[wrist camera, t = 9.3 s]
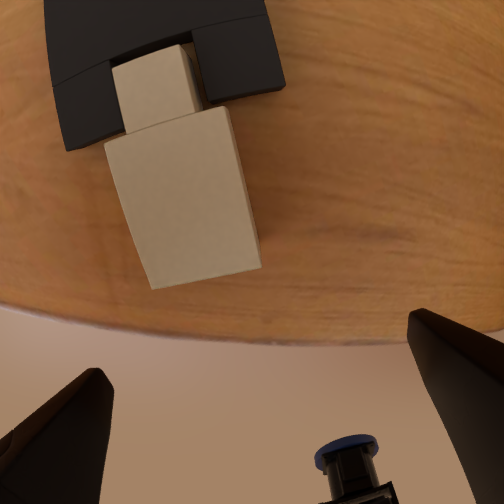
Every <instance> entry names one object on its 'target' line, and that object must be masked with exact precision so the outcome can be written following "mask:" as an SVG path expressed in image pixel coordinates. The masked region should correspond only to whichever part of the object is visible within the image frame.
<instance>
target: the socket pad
mask: <svg viewBox="0 0 504 504" xmlns="http://www.w3.org/2000/svg"><path fill="white" fill-rule="evenodd" d="M44 17H45V32H46V43H47V52H48V61H49V68H50V75H51V81H52V87H54V88H53V93H54V98H55V103H56V108H57V113H58V118H59V123H60V127H61V132H62V136H63V140H64V144H65V148H66V151H72V150H77V149H81V148H84V147H87V146H89V145H91V144H94V143H96V142H99V141H101V140H104V139H106V138H109V137H111V136H114V135H117V134H119V133H122V132H125V131H126V130H125V126H124V122H123V118H122V114H121V109H120V105H119V101H118V96H117V92H116V87H115V82H114V78H113V73H112V68H114V67H117V66H119V65H121V64H124V63H126V62H129V61H131V60H134V59H137V58H139V57H142V56H145V55H147V54H150V53H153V52H156V51H159V50H162V49H165V48H168V47H171V46H175V45H181V44H184V43H188V42H191V41H194V46H195V50H196V54H197V58H198V63H199V67H200V71H201V75H202V80H203V84H204V88H205V92H206V96H207V101H208V102H210V103H211V104H217V103H221V102H225V101H229V100H234V99H238V98H243V97H247V96H252V95H257V94H263V93H268V92H274V91H279V90H282V89H283V88H284V87H285V86H286V83H285V79H284V75H283V71H282V67H281V62H280V58H279V54H278V51H277V47H276V43H275V39H274V35H273V32H272V28H271V24H270V21H269V17H268V15H267V10H266V7H265V3H264V0H44Z"/></svg>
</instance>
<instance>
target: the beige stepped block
mask: <svg viewBox="0 0 504 504" xmlns="http://www.w3.org/2000/svg"><path fill="white" fill-rule="evenodd" d="M112 73H113V78H114V82H115V87H116V92H117V96H118V101H119V105H120V109H121V114H122V118H123V122H124V126H125V130H126V133H127V135H125V136H122V137H119V138H116V139H114V140H111V141H109V142H106V143H104V148H105V152H106V155H107V159H108V163H109V166H110V170H111V173H112V177H113V180H114V183H115V187H116V190H117V193H118V196H119V199H120V203H121V206H122V209H123V212H124V215H125V218H126V221H127V224H128V227H129V230H130V232H131V235H132V238H133V241H134V244H135V246H136V249H137V252H138V255H139V257H140V260H141V263H142V265H143V268H144V270H145V273H146V275H147V278H148V280H149V283H150V285H151V288H152V289H158V288H164V287H169V286H174V285H179V284H184V283H189V282H194V281H199V280H204V279H209V278H214V277H219V276H224V275H229V274H234V273H239V272H244V271H249V270H254V269H258V268H262V260H261V251H260V243H259V239H258V234H257V230H256V226H255V221H254V217H253V213H252V208H251V204H250V200H249V195H248V191H247V187H246V182H245V178H244V174H243V169H242V165H241V161H240V157H239V152H238V148H237V144H236V140H235V135H234V131H233V127H232V123H231V118H230V114H229V110H228V109H227V108H226V107H225V106H220V107H216V108H212V109H208V110H203V106H202V102H201V98H200V94H199V89H198V85H197V81H196V77H195V73H194V68H193V64H192V60H191V58H190V57H189V55H188V54H187V53H186V52H185V51H184V50H183V48H182V47H181V46H180V45H175V46H171V47H168V48H165V49H162V50H159V51H156V52H153V53H150V54H147V55H145V56H142V57H139V58H137V59H134V60H131V61H129V62H126V63H124V64H121V65H119V66H117V67H114V68H112Z"/></svg>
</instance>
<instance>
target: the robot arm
mask: <svg viewBox="0 0 504 504" xmlns="http://www.w3.org/2000/svg"><path fill="white" fill-rule="evenodd" d="M407 340H408V343H409V346H410V348H411V351H412V353H413V356H414V358H415V361H416V364H417V366H418V369H419V371H420V374H421V377H422V379H423V382H424V385H425V387H426V389H427V391H428V393H429V395H430V397H431V399H432V401H433V403H434V405H435V407H436V409H437V411H438V413H439V415H440V418H441V419H442V422H443V424H444V426H445V428H446V430H447V433H448V435H449V437H450V439H451V441H452V444H453V446H454V448H455V451H456V453H457V455H458V458H459V460H460V462H461V465H462V467H463V469H464V472H465V474H466V477H467V480H468V482H469V484H470V487H471V490H472V492H473V495H474V498H475V500H476V504H504V343H502V342H500V341H498V340H495V339H493V338H491V337H489V336H486V335H484V334H482V333H480V332H477V331H475V330H473V329H471V328H468V327H466V326H464V325H461V324H459V323H457V322H455V321H452V320H450V319H448V318H445V317H443V316H441V315H438V314H436V313H434V312H432V311H429V310H427V309H424V308H420V309H417V310H414V311H411V312H410V313H409V317H408V329H407ZM113 400H114V388H113V386H112V384H111V383H110V381H109V379H108V378H107V376H106V375H105V373H104V372H103V371H102V370H101V369H100V368H89V369H87V370H86V371H84V372H83V373H82V374H81V375H79V376H78V377H77V378H76V379H74V380H73V381H72V382H71V383H69V384H68V385H67V386H66V387H64V388H63V389H62V390H61V391H59V392H58V393H57V394H56V395H55V396H53V397H52V398H51V399H50V400H48V401H47V402H46V403H45V404H43V405H42V406H41V407H40V408H38V409H37V410H36V411H35V412H34V413H32V414H31V415H30V416H29V417H27V418H26V419H25V420H24V421H23V422H21V423H20V424H19V425H18V426H16V427H15V428H14V430H11V431H10V432H9V433H8V434H7V435H5V436H4V437H3V438H1V439H0V504H99V500H100V491H101V484H102V478H103V471H104V465H105V459H106V453H107V448H108V442H109V436H110V429H111V419H112V409H113ZM374 449H375V442H374V441H370V442H366V443H363V444H359V445H356V446H352V447H348V448H344V449H340V450H336V451H331V452H327V453H323V454H322V455H321V459H322V469H323V475H328V481H329V486H330V491H331V497H332V501H329V502H325V503H323V502H322V503H319V504H399V502H398V499H397V496H396V493H395V490H394V487H393V484H392V481H390V482H388V483H386V484H384V485H381V486H380V485H379V481H378V477H377V474H376V471H375V467H374V464H373V460H372V458H373V453H374ZM388 496H389V497H388ZM385 497H386V498H385Z"/></svg>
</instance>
